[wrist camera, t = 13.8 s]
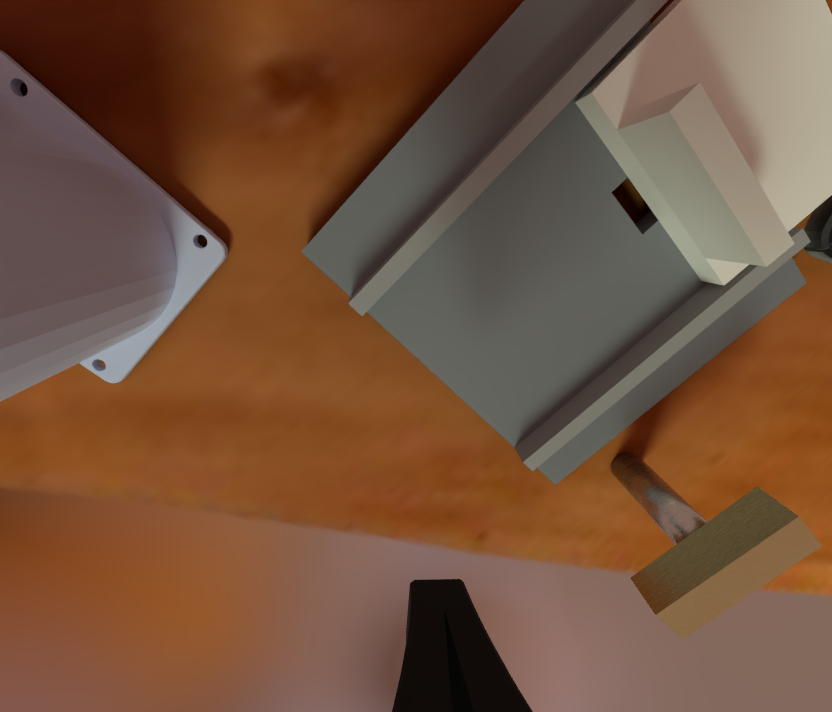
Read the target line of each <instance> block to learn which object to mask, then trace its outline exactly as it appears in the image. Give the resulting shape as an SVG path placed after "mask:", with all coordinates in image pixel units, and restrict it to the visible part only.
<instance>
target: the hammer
mask: <svg viewBox="0 0 832 712" xmlns="http://www.w3.org/2000/svg"><path fill="white" fill-rule="evenodd" d="M611 472H612V473H613V475H614V476H615V477H616V478H617V479H618V480H619V481H620V483H621V484H622V485H623V486H624V487H625V488H626V489H627V491H628V492H629V493H630V494H631V495H632V496H633V497H634V498H635V500H636V501H637V502H638V503H639V504H640V505H641V506H642V507H643V509H644V510H645V511H646V512H647V513H648V514H649V515H650V517H651V518H652V519H653V520H654V521H655V522H656V523H657V524H658V526H659V527H660V528H661V529H662V530H663V531H664V532H665V533H666V535H667V536H668V537H669V538H670V539H671V540H672V541H673V543H674V544H675V546H674V547H673V548H671V549H670V550H669V551H667V552H666V553H664V554H663V555H662V556H660V557H659V558H657V559H656V560H655V561H653V562H652V563H651V564H649V565H648V566H646V567H645V568H644V569H642V570H641V571H639V572H638V573H637V574H635V575H634V576H632V577H631V579H632V581H633V582H634V584H635V585H636V586H637V588H638V590H639V591H640V593H641V594H642V595H643V597H644V598H645V600H646V601H647V603H648V604H649V606H650V607H651V609H652V610H653V612H654V613H655V614H656V616H657V617H659V618H660V619H661V620H662V621H663V622H664V623H665V624H667V625H668V626H669V627H670V628H671V629H672V630H674V631H675V632H676V633H677V634H679V636H680V637H682V638H685V637H686V636H688V635H689V634H691V633H692V632H694V631H695V630H697V629H698V628H700V627H701V626H703V625H704V624H706V623H707V622H709V621H711V620H712V619H714V618H715V617H716V616H718V615H720V614H721V613H723V612H724V611H726V610H727V609H729V608H730V607H732V606H733V605H735V604H736V603H738V602H739V601H740V600H742V599H744V598H745V597H747V596H748V595H750V594H751V593H753V592H754V591H756V590H757V589H759V588H760V587H762V586H763V585H765V584H766V583H768V582H769V581H771V580H772V579H774V578H775V577H777V576H778V575H780V574H781V573H783V572H784V571H786V570H787V569H789V568H790V567H792V566H793V565H795V564H796V563H798V562H799V561H801V560H802V559H804V558H805V557H807V556H808V555H810V554H811V553H813V552H814V551H816V550H817V549H819V548H820V547H822V545H821V544H820V543H819V541H818V540H817V539H816V538H815V536H814V535H813V534H812V533H811V531H810V530H809V529H808V528H807V526H806V525H805V524H804V523H803V521H802V520H801V519H800V518H799V516H797V515H796V514H794V513H793V512H792V511H790V510H789V509H788V508H786V507H785V506H783V505H782V504H781V503H779V502H778V501H777V500H775V499H774V498H773V497H771V496H770V495H768V494H767V493H766V492H764V491H763V490H762V489H760V488H759V487H756V488H755V489H753V490H752V491H750V492H749V493H748V494H746V495H745V496H743V497H742V498H741V499H739V500H738V501H737V502H735V503H734V504H732V505H731V506H730V507H728V508H727V509H725V510H724V511H723V512H721V513H720V514H719V515H717V516H716V517H714V518H713V519H712V520H710V521H709V522H707V521H706V520H705V519H704V518H703V517H702V516H701V515H700V514H699V513H698V512H697V511H695V510H694V509H693V508H692V507H691V506H690V505H689V504H688V503H687V502H686V501H685V500H684V499H683V498H682V497H681V496H680V495H679V494H678V493H676V492H675V491H674V490H673V489H672V488H671V487H670V486H669V485H668V484H667V483H666V482H665V481H664V480H663V479H662V478H661V477H660V476H659V475H657V474H656V473H655V472H654V471H653V470H652V469H651V468H650V467H649V466H648V465H647V464H646V463H645V462H644V461H643V460H642V459H641V458H640V457H639V456H637V455H636V454H634V453H631V452H627V453H623V454H621V455H619V456H617V457H616V458H615V459H614V461H613V462H612V465H611Z"/></svg>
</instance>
